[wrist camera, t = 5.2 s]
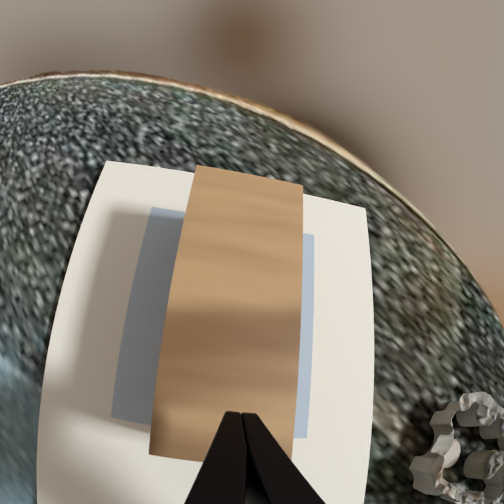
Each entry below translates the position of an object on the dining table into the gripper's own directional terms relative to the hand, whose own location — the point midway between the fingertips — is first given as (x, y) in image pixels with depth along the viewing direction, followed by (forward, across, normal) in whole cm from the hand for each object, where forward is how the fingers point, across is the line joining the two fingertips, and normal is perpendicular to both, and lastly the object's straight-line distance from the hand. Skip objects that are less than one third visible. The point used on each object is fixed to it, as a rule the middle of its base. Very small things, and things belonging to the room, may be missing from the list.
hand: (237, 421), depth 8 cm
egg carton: (+3, -18, +9) cm, 21 cm away
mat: (+7, 0, +5) cm, 8 cm away
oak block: (+2, 0, +5) cm, 5 cm away
